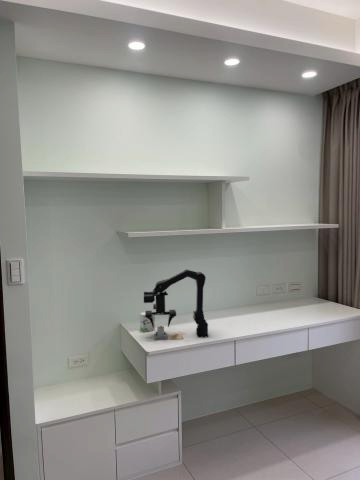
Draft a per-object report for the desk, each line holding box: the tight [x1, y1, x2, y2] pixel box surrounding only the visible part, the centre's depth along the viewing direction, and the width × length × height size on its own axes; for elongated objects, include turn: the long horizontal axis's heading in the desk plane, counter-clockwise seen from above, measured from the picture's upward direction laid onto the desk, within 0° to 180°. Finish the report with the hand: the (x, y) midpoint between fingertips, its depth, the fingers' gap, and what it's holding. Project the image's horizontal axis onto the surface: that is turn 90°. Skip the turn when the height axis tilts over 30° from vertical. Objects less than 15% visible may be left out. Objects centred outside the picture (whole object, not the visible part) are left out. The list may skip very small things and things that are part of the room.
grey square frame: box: [153, 331, 169, 341], centre depth 228 cm, size 8×9×2 cm
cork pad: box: [167, 333, 184, 341], centre depth 229 cm, size 9×9×1 cm
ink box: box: [139, 311, 156, 333], centre depth 240 cm, size 8×5×12 cm, turn 116°
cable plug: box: [156, 325, 165, 336], centre depth 227 cm, size 4×5×7 cm
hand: (160, 327), depth 227 cm, fingers open, 9 cm apart
